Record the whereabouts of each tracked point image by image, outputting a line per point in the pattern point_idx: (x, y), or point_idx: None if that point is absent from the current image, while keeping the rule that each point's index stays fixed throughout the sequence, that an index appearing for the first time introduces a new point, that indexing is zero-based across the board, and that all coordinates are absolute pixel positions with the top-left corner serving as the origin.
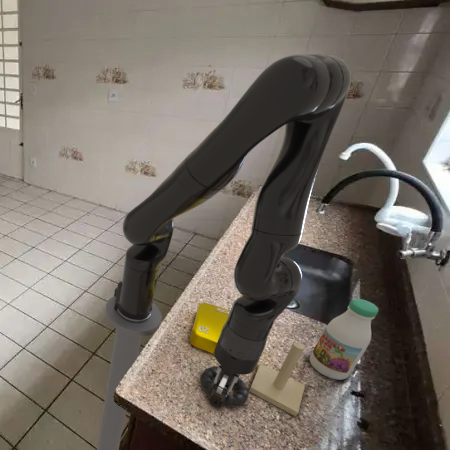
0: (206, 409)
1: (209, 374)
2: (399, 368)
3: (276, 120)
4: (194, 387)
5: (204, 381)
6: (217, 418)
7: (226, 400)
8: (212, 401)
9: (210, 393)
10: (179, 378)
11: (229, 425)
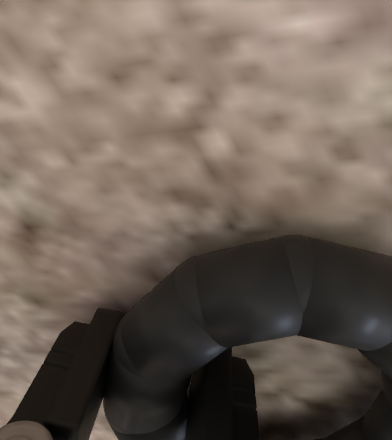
0: (31, 279)
1: (338, 334)
2: None
3: None
4: (189, 184)
5: (221, 292)
6: (12, 338)
7: (114, 430)
8: (56, 342)
9: (125, 330)
10: (229, 26)
11: (14, 390)
